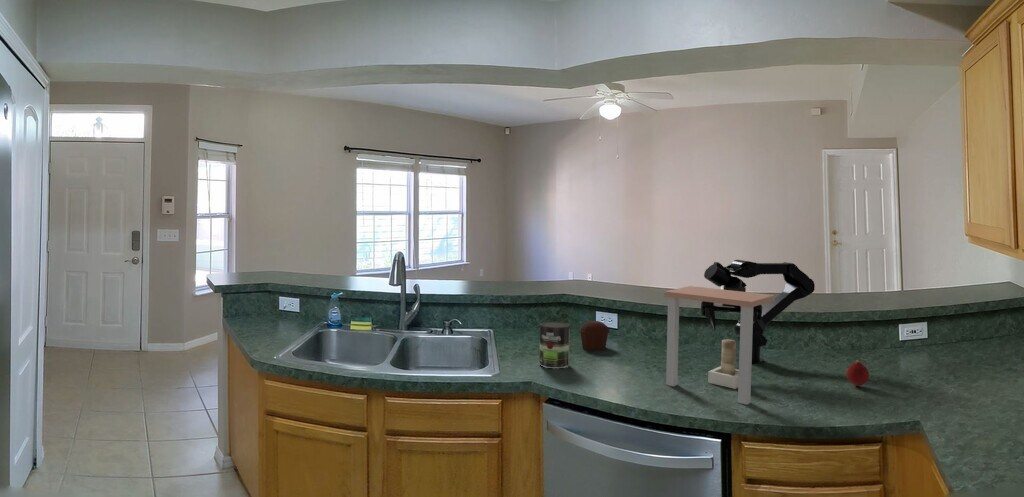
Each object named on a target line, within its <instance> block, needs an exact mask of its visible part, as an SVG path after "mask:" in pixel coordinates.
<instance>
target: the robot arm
mask: <svg viewBox="0 0 1024 497" xmlns="http://www.w3.org/2000/svg"><path fill="white" fill-rule="evenodd" d="M761 275H783V280H784V281H785V285H784V288H783V291H782V292H781V293H779V295H777V296H776V297H775V300H774V301H771V302H768V304H766V305H765V306H764V307H763V304H761V305H758V306H754V307H753V334H752V364H760V363H762V362H763V361H765V358H763V357H761V355H762V354H761V353H762V350H761V349H762V347H764V346H765V347H766V346H767V343H768V339H767V338H766V336H765V335H764V333H765V329H766V327H767V325H768V324H770V322H772V321H773V320H774V319H775V318H776V317H778V315H780V314H781V313H783V311H785V310H786V309H787V308H788V307H789V306H791V304H793V303H794V302H795V301H797V300H800V299H803V298H806V297H808V296H810V295H811V294H813V293H814V291H815V281H814V280H813V279H812V278H810V276H808V275H807V274H806V273H804V272H803V270H801V269H800V268H799V267H798V266H797V264H795V263H793V262H785V261H784V262H755V261H754V262H753V261H749V260H742V259H735V260H733V261H732V262H731V264H728V265H727V266H723V264H722V263H720V262H718V261H714V262H713V264H711V265H709V266H708V267H707V268H705V270H704V274H703V277H704V279H706V280H707V281H709V282H711V284H714V285H715V286H716V287H719V288H720V287H723V289H722V290H731V291H741V292H747V291H746V290H747V288H746V287H747V284H746V283H745V282H744V281H743V279H740V278H744V279H745V278H746V279H749V278H753V277H754V278H755V277H757V276H761ZM700 302H701V303H700V311H701V316H704V317H705V318H706V319H708V320H709V322H710V323H711V325H712V329H713V331H716V329H717V327H716V326H717V324H716V323H717V322H716V314H715V312H719V313H720V312H723V313H729V314H730V313H731V314H741V306H737V305H729V304H721V305H719V304H715V303H713V302H705V301H700ZM734 327H735V328H734V329H735V330H734V333H735V335H736V336H737V338H738V341H739V342H740V319H739V320H737V323H736V324H735V326H734Z"/></svg>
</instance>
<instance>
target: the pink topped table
mask: <svg viewBox="0 0 1024 497" xmlns="http://www.w3.org/2000/svg"><path fill="white" fill-rule="evenodd" d="M663 296H664V297H667V324H666V327H667V328H666V332H667V333H666V368H665V369H666V370H665V372H666V374H665V378H666V379H665V385H666V386H669V387H673V388H674V387H675V386H677V385H678V378H679V377H678V373H679V371H678V369H679V332H680V331H679V329H680V327H679V326H680V299H683V300H691V301H699V302H702V301H705V302H713V303H714V304H721V305H722V304H729V305H737V306H741V313H740V319H739V320H740V341H739V353H738V354H739V356H738V370H739V384H738V388H737V390H738V391H737V403H738V404H743V405H749V404H750V403H751V392H752V391H751V390H752V389H751V388H752V387H751V386H752V364H753V363H752V334H753V307H754V306H758V305H765V304H767V303H768V304H769V303H770V302H771V301H774V300H775V298H776V297H775V294H768V293H767V294H766V293H757V292H748V291H746V292H741V291H731V290H723V289H721V288H712V287H703V286H693V285H690V286H684V287H680V288H679V287H678V288H674V289H671V290H664V292H663Z"/></svg>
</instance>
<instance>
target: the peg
mask: <svg viewBox="0 0 1024 497" xmlns="http://www.w3.org/2000/svg"><path fill="white" fill-rule="evenodd" d="M736 346H737V341H736V340H734V339H728V338H727V339H722V340H721V354H720V355H721V356H720V357H721V359H720V360H721V361H720V366H721V373H723V374H728V375H733V376H734V375H735V369H736V355H737V354H736V351H737V350H736V349H737V348H736Z"/></svg>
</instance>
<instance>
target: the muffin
mask: <svg viewBox="0 0 1024 497" xmlns="http://www.w3.org/2000/svg"><path fill="white" fill-rule="evenodd" d="M578 331H579V333H580V338H581V339H580V340H581V345H582V349H583V350H584V349H585V350H587V351H593V352H595V351H603V350H606V346H607V341H608V335H609V333H610V332H611V330H610V328H609V327H608V325H606V324H605V323H604V322H601V321H598V320H590V321H586V322H585V323H583V324H582V325H581V326H580V327H579V329H578Z"/></svg>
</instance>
